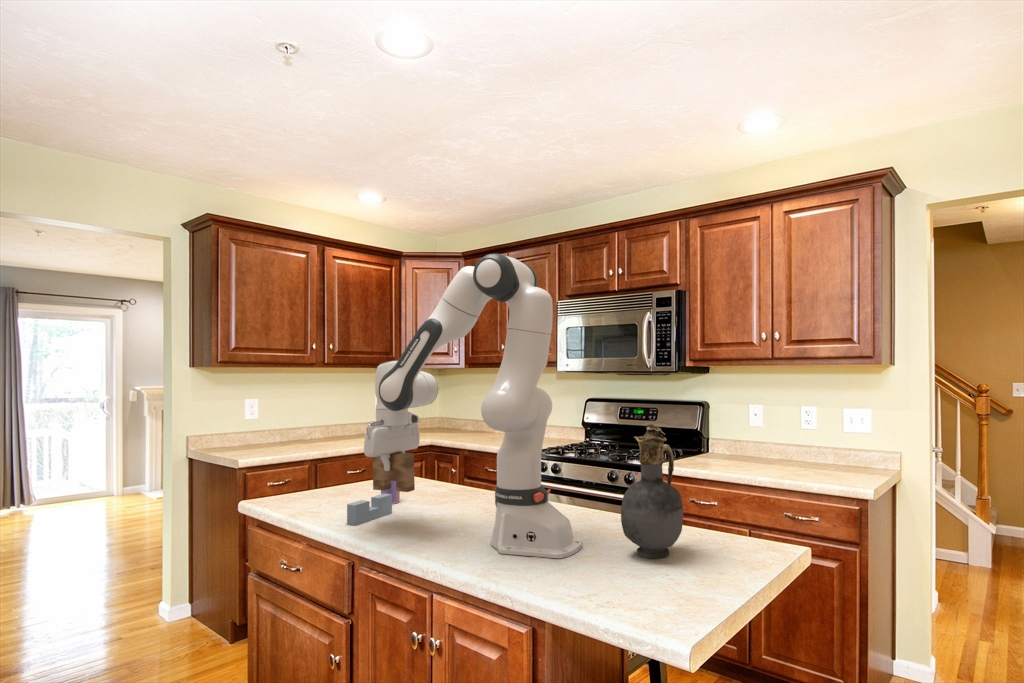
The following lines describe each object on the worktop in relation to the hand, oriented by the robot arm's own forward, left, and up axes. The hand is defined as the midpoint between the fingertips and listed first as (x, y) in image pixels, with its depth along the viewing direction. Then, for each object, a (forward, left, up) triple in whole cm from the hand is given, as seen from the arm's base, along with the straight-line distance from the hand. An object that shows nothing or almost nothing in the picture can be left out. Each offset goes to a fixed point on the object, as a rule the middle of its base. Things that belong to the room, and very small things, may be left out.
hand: (393, 469), depth 165 cm
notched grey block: (+12, -4, -16) cm, 20 cm away
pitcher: (-70, -9, -16) cm, 73 cm away
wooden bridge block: (0, 0, -6) cm, 6 cm away
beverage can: (+20, -23, -16) cm, 34 cm away
